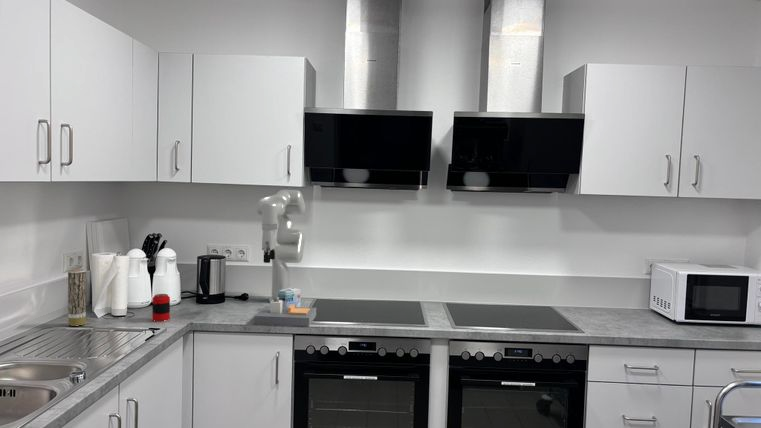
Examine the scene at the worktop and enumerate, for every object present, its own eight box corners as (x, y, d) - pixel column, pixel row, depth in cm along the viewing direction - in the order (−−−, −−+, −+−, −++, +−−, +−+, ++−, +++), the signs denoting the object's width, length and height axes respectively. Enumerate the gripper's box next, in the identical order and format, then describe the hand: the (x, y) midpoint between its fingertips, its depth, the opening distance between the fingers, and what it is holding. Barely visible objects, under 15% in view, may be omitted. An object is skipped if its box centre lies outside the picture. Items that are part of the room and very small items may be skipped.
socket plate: (265, 313, 263) (265, 305, 263) (316, 315, 262) (316, 307, 261) (254, 324, 243) (254, 315, 243) (308, 326, 242) (309, 318, 241)
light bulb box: (286, 312, 266) (286, 292, 265) (277, 310, 270) (277, 290, 269) (301, 309, 275) (301, 289, 274) (292, 307, 279) (292, 287, 278)
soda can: (152, 322, 241) (152, 297, 240) (152, 318, 248) (152, 293, 247) (169, 321, 244) (169, 296, 243) (169, 317, 251) (169, 293, 250)
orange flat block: (291, 309, 256) (291, 303, 256) (309, 310, 256) (309, 304, 256) (287, 313, 247) (287, 308, 247) (306, 314, 247) (306, 308, 247)
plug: (272, 318, 255) (272, 296, 254) (282, 318, 255) (282, 296, 254) (269, 320, 250) (270, 298, 249) (279, 321, 250) (280, 298, 249)
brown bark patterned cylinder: (66, 327, 229) (65, 271, 228) (70, 323, 236) (70, 269, 234) (83, 327, 231) (83, 271, 229) (87, 323, 237) (87, 269, 236)
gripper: (266, 225, 268) (266, 257, 269) (257, 229, 251) (257, 263, 252) (280, 225, 268) (280, 258, 269) (272, 229, 250) (272, 264, 252)
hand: (269, 260), depth 261 cm, fingers open, 9 cm apart
